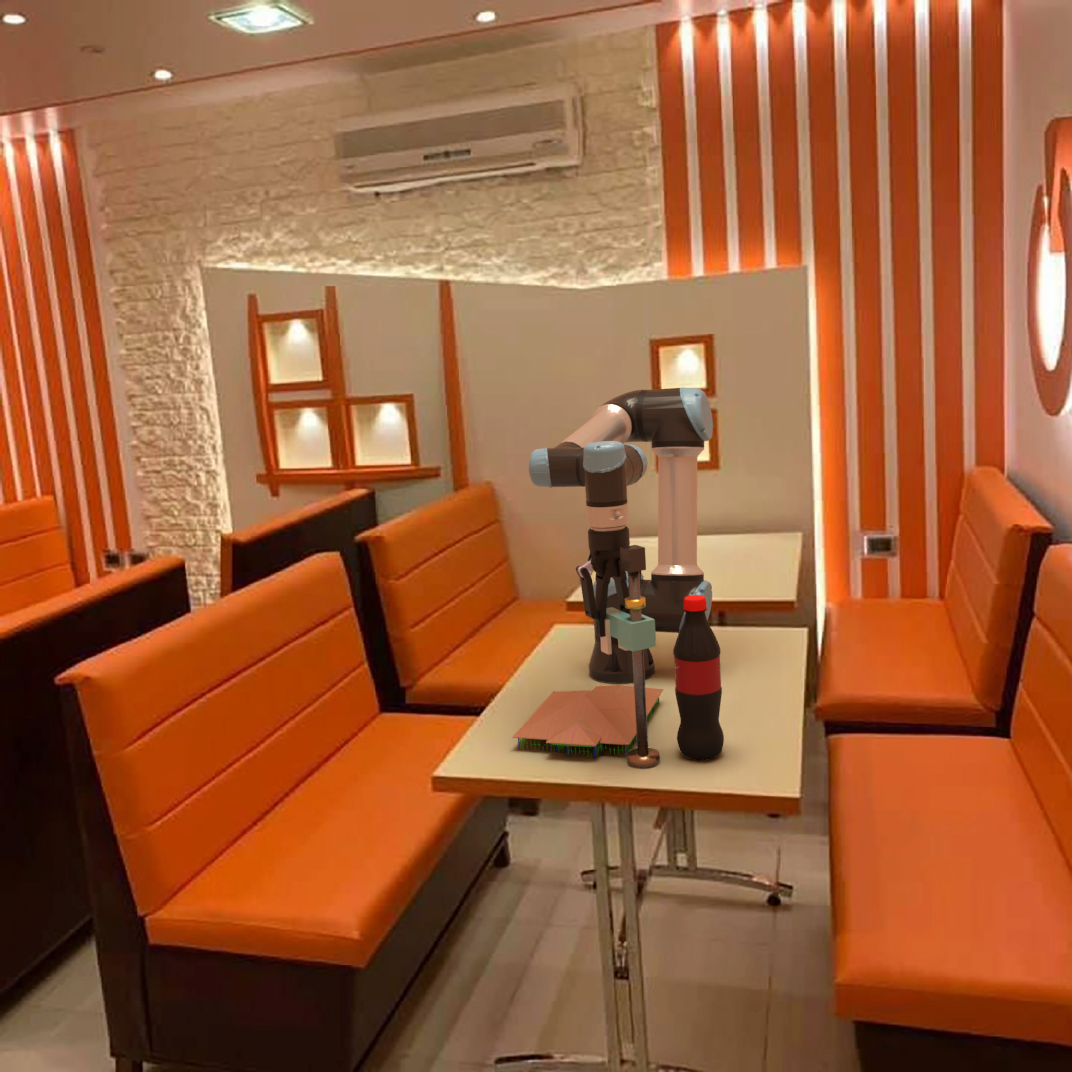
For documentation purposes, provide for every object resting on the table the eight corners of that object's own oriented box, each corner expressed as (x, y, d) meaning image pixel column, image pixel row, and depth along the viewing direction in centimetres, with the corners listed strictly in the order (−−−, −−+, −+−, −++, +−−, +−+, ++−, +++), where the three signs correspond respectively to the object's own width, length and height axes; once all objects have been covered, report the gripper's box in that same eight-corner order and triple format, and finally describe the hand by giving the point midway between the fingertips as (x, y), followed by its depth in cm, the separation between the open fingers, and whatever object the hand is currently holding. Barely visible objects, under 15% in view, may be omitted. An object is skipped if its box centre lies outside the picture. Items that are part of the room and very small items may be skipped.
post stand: (621, 759, 192) (609, 547, 185) (648, 752, 195) (638, 542, 187) (637, 771, 187) (626, 552, 179) (666, 763, 189) (656, 547, 182)
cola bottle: (719, 743, 196) (713, 589, 191) (728, 761, 188) (723, 600, 183) (674, 747, 196) (667, 592, 191) (682, 765, 188) (675, 604, 182)
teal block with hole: (595, 633, 196) (593, 608, 195) (617, 629, 198) (616, 603, 197) (632, 651, 183) (631, 624, 183) (656, 646, 185) (654, 619, 184)
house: (508, 758, 197) (505, 718, 196) (560, 698, 228) (558, 663, 226) (626, 767, 190) (624, 724, 188) (663, 704, 220) (662, 667, 219)
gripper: (578, 536, 184) (586, 664, 188) (656, 523, 190) (662, 647, 195) (559, 530, 190) (567, 653, 195) (635, 518, 197) (641, 638, 201)
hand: (615, 650), depth 195 cm, fingers closed on teal block with hole, 3 cm apart
